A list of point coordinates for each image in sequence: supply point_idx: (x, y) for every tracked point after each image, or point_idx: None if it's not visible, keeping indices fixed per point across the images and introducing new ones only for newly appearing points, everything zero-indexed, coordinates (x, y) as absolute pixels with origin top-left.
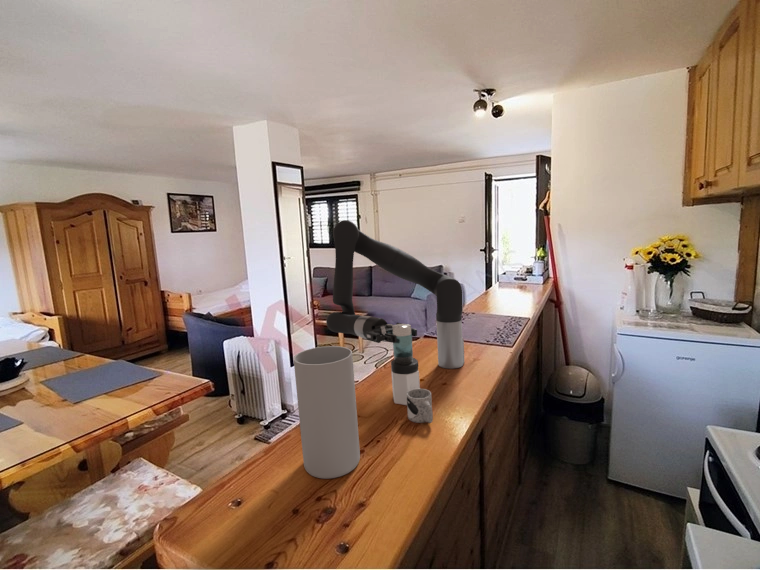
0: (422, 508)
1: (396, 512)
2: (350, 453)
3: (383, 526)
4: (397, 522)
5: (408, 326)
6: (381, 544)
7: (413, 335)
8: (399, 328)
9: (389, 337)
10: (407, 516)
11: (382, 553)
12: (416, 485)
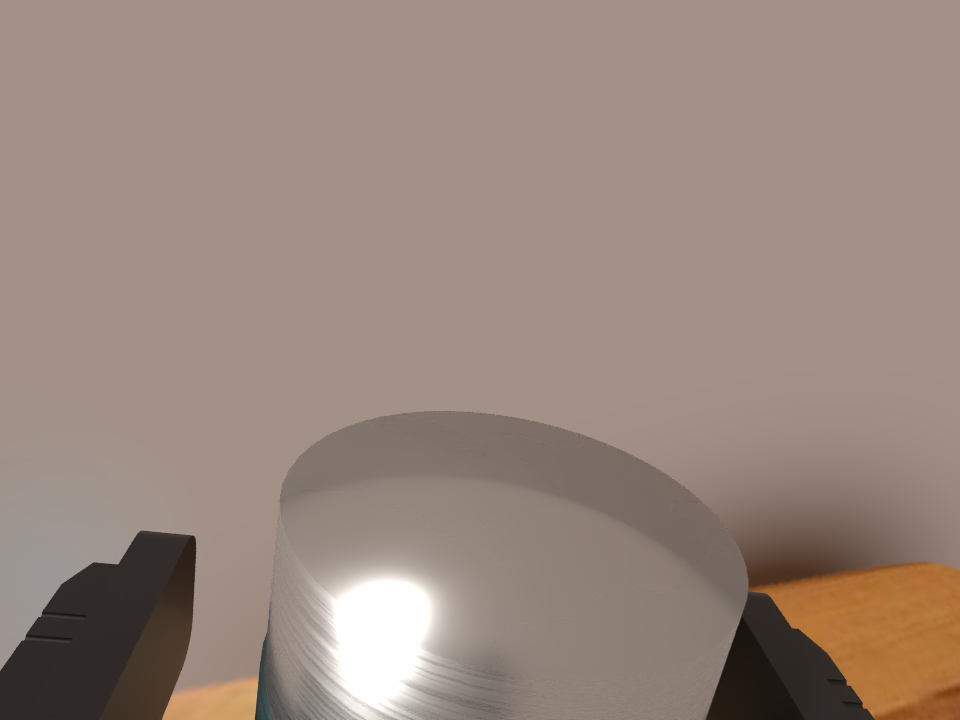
0: (823, 579)
1: (898, 609)
2: None
3: (943, 607)
4: (902, 594)
5: (438, 430)
6: (954, 588)
7: (176, 675)
8: (659, 472)
9: (839, 684)
10: (871, 589)
11: (954, 577)
12: (806, 623)
